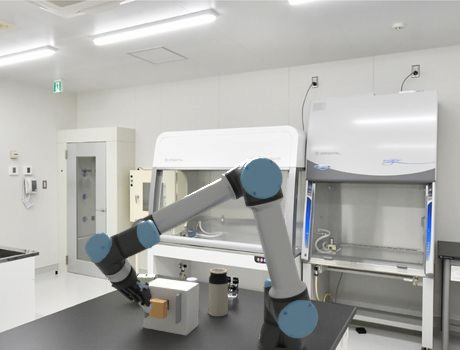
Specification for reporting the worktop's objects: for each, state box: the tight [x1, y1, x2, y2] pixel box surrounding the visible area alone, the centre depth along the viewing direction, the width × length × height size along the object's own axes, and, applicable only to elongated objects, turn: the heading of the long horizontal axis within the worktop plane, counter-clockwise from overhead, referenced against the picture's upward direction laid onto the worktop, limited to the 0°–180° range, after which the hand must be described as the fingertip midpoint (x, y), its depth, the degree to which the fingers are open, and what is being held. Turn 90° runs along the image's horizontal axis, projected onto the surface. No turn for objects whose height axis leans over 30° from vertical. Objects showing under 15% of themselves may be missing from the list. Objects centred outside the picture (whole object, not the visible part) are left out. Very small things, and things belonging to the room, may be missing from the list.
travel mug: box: [208, 267, 229, 318], centre depth 155 cm, size 8×8×18 cm
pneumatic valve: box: [136, 272, 159, 284], centre depth 170 cm, size 6×12×12 cm, turn 93°
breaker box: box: [142, 277, 200, 336], centre depth 140 cm, size 13×18×16 cm
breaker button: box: [149, 298, 169, 319], centre depth 134 cm, size 7×6×6 cm
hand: (149, 308), depth 128 cm, fingers closed
